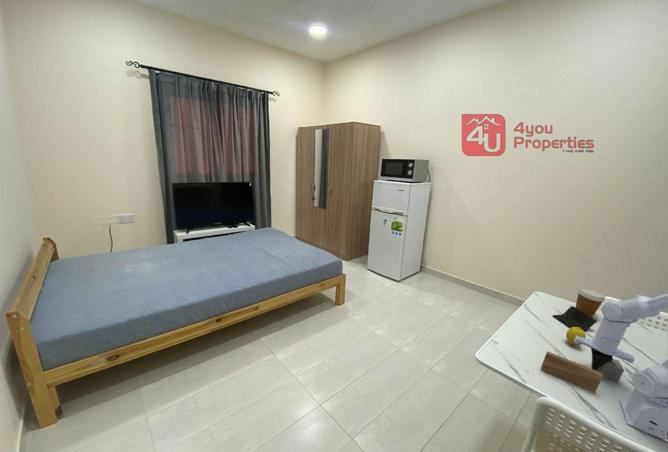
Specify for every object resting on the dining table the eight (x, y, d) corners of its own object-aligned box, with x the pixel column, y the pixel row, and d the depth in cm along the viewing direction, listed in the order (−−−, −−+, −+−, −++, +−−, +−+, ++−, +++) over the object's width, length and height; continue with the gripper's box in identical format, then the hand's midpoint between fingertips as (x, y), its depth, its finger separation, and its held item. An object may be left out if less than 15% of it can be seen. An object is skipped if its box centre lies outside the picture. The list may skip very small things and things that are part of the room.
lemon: (584, 351, 105) (592, 333, 103) (568, 348, 106) (575, 331, 104) (575, 341, 110) (582, 324, 108) (560, 338, 111) (566, 321, 109)
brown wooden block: (594, 393, 87) (602, 376, 85) (540, 370, 94) (547, 353, 92) (594, 390, 88) (602, 373, 86) (540, 367, 96) (547, 351, 93)
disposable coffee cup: (587, 322, 123) (596, 299, 120) (565, 309, 132) (573, 287, 128) (602, 319, 126) (612, 297, 122) (579, 307, 135) (588, 286, 131)
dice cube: (598, 374, 94) (604, 363, 93) (594, 365, 98) (599, 354, 97) (617, 381, 92) (624, 370, 90) (612, 371, 96) (618, 360, 94)
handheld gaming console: (550, 314, 125) (567, 299, 123) (554, 319, 128) (571, 305, 127) (576, 334, 115) (596, 318, 113) (580, 339, 119) (599, 323, 117)
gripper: (636, 339, 90) (620, 371, 94) (579, 320, 98) (566, 351, 102) (642, 351, 85) (624, 385, 89) (581, 330, 92) (568, 362, 97)
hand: (593, 368), depth 95 cm, fingers closed
